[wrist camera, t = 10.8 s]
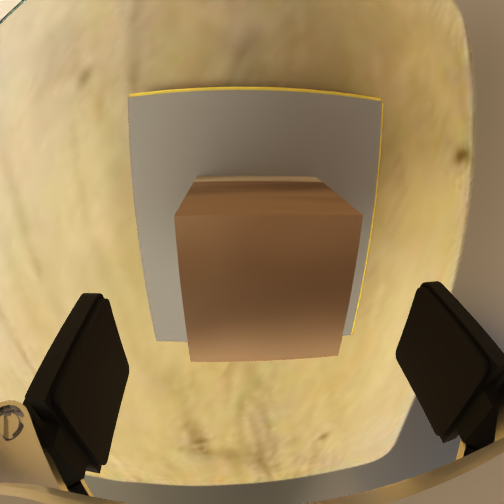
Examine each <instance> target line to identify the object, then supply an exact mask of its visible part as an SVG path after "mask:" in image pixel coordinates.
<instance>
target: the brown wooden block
mask: <svg viewBox="0 0 504 504" xmlns="http://www.w3.org/2000/svg"><path fill="white" fill-rule="evenodd" d="M362 220H363V215H362V214H361V213H360V212H359V211H357V210H356V209H355V208H354V207H353V206H351V205H350V204H349V203H348V202H347V201H345V200H344V199H343V198H342V197H341V196H339V195H338V194H337V193H336V192H334V191H333V190H332V189H331V188H329V187H328V186H327V185H326V184H324V183H323V182H322V181H321V180H319V179H318V178H317V177H313V176H256V175H251V176H197V177H196V179H195V180H194V182H193V184H192V186H191V187H190V189H189V191H188V192H187V194H186V196H185V198H184V199H183V201H182V203H181V205H180V206H179V208H178V210H177V212H176V213H175V215H174V221H175V234H176V245H177V256H178V266H179V276H180V285H181V294H182V302H183V310H184V318H185V325H186V333H187V340H188V347H189V353H190V360H191V361H194V362H232V361H267V360H287V359H302V358H315V357H327V356H338V353H339V348H340V344H341V340H342V335H343V330H344V326H345V321H346V316H347V311H348V306H349V301H350V296H351V291H352V285H353V279H354V274H355V268H356V262H357V255H358V249H359V242H360V235H361V228H362Z"/></svg>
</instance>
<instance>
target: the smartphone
mask: <svg viewBox="0 0 504 504" xmlns="http://www.w3.org/2000/svg"><path fill="white" fill-rule="evenodd" d="M24 1H26V0H0V24H1V23H2V22H3V21H4V20H5V19H6V18H7V17H8V16H9V15H10V14H11V13H12V12H13V11H14V10H16V9H17V8H18V7H19V6H20V5H21V4H22V3H23V2H24Z"/></svg>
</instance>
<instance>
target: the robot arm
mask: <svg viewBox="0 0 504 504" xmlns="http://www.w3.org/2000/svg"><path fill="white" fill-rule="evenodd" d="M396 359H397V361H398V363H399V365H400V367H401V369H402V370H403V372H404V374H405V376H406V378H407V380H408V381H409V383H410V385H411V387H412V389H413V391H414V393H415V395H416V397H417V398H418V400H419V402H420V404H421V406H422V408H423V410H424V412H425V414H426V416H427V418H428V420H429V422H430V424H431V426H432V428H433V430H434V432H435V434H436V435H438V436H440V437H441V439H442V442H443V443H445V442H447V441H450V440H452V439H455V438H456V437H457V436H458V435H459V436H460V438H461V442H460V446H459V450H458V454H457V458H456V461H454V462H451V463H449V464H446V465H444V466H442V467H439V468H437V469H434V470H432V471H429V472H427V473H424V474H421V475H418V476H415V477H412V478H409V479H406V480H403V481H400V482H398V483H394V484H391V485H387V486H384V487H380V488H377V489H373V490H369V491H366V492H361V493H357V494H353V495H348V496H344V497H339V498H335V499H329V500H323V501H318V502H311V503H305V504H504V353H503V352H502V351H501V350H500V348H499V347H498V346H497V345H496V343H495V342H494V341H493V340H492V339H491V338H490V336H489V335H488V334H487V333H486V332H485V331H484V329H483V328H482V327H481V326H480V325H479V323H478V322H477V321H476V320H475V319H474V318H473V317H472V316H471V314H470V313H469V312H468V311H467V310H466V309H465V308H464V307H463V306H462V305H461V304H460V303H459V301H458V300H457V299H456V298H455V297H454V296H453V295H452V294H451V293H450V292H449V291H448V290H447V288H446V287H445V286H444V285H443V284H442V283H440V282H438V281H436V282H425V283H422V285H421V286H420V288H418V289H417V291H416V294H415V297H414V300H413V303H412V306H411V310H410V313H409V316H408V319H407V322H406V324H405V327H404V330H403V333H402V336H401V338H400V341H399V344H398V347H397V349H396ZM128 375H129V365H128V361H127V358H126V355H125V352H124V349H123V346H122V343H121V340H120V337H119V333H118V330H117V327H116V323H115V320H114V316H113V313H112V309H111V306H110V302H109V300H108V299H104V297H103V295H102V294H100V293H83V294H82V295H81V296H80V298H79V300H78V301H77V303H76V304H75V306H74V308H73V309H72V311H71V313H70V314H69V316H68V317H67V319H66V321H65V323H64V324H63V326H62V328H61V329H60V331H59V333H58V335H57V336H56V338H55V340H54V342H53V343H52V345H51V347H50V349H49V351H48V352H47V354H46V356H45V358H44V360H43V362H42V363H41V365H40V367H39V369H38V371H37V373H36V375H35V377H34V379H33V381H32V383H31V385H30V387H29V389H28V391H27V393H26V395H25V400H24V402H23V404H22V403H20V402H17V401H10V400H8V401H4V402H1V403H0V504H131V503H124V502H117V501H112V500H106V499H101V498H96V497H94V496H93V495H92V493H91V492H90V490H89V488H88V487H87V485H86V483H85V481H84V480H83V479H84V476H85V472H86V471H91V472H95V473H100V470H101V465H105V464H106V463H107V461H108V456H109V452H110V447H111V443H112V438H113V434H114V430H115V426H116V421H117V417H118V413H119V409H120V405H121V402H122V398H123V394H124V390H125V386H126V383H127V379H128Z"/></svg>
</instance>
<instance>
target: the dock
mask: <svg viewBox="0 0 504 504" xmlns="http://www.w3.org/2000/svg"><path fill="white" fill-rule="evenodd" d="M383 104H384V102H382V101H381V98H377V97H370V96H364V95H357V94H349V93H341V92H332V91H322V90H311V89H297V88H279V87H205V88H186V89H172V90H161V91H151V92H142V93H134V94H129V97H128V113H129V140H130V157H131V172H132V184H133V195H134V205H135V214H136V223H137V231H138V238H139V246H140V253H141V260H142V266H143V273H144V279H145V285H146V291H147V296H148V302H149V307H150V312H151V317H152V322H153V327H154V332H155V337H156V341H175V342H188V340H187V333H186V325H185V318H184V310H183V302H182V294H181V285H180V276H179V266H178V256H177V245H176V234H175V221H174V215H175V213H176V212H177V210H178V208H179V206H180V205H181V203H182V201H183V199H184V198H185V196H186V194H187V192H188V191H189V189H190V187H191V186H192V184H193V182H194V180H195V179H196V177H197V176H251V175H256V176H313V177H317V178H318V179H319V180H321V181H322V182H323V183H324V184H326V185H327V186H328V187H329V188H331V189H332V190H333V191H334V192H336V193H337V194H338V195H339V196H341V197H342V198H343V199H344V200H345V201H347V202H348V203H349V204H350V205H351V206H353V207H354V208H355V209H356V210H357V211H359V212H360V213H361V214H362V215H363V220H362V228H361V235H360V242H359V249H358V255H357V262H356V268H355V274H354V279H353V285H352V291H351V296H350V301H349V306H348V311H347V316H346V321H345V326H344V330H343V335H342V336H346V335H351V333H353V329H354V324H355V320H356V315H357V311H358V306H359V301H360V297H361V292H362V287H363V281H364V276H365V271H366V265H367V259H368V253H369V247H370V241H371V234H372V227H373V220H374V213H375V205H376V197H377V188H378V178H379V168H380V156H381V143H382V127H383Z"/></svg>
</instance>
